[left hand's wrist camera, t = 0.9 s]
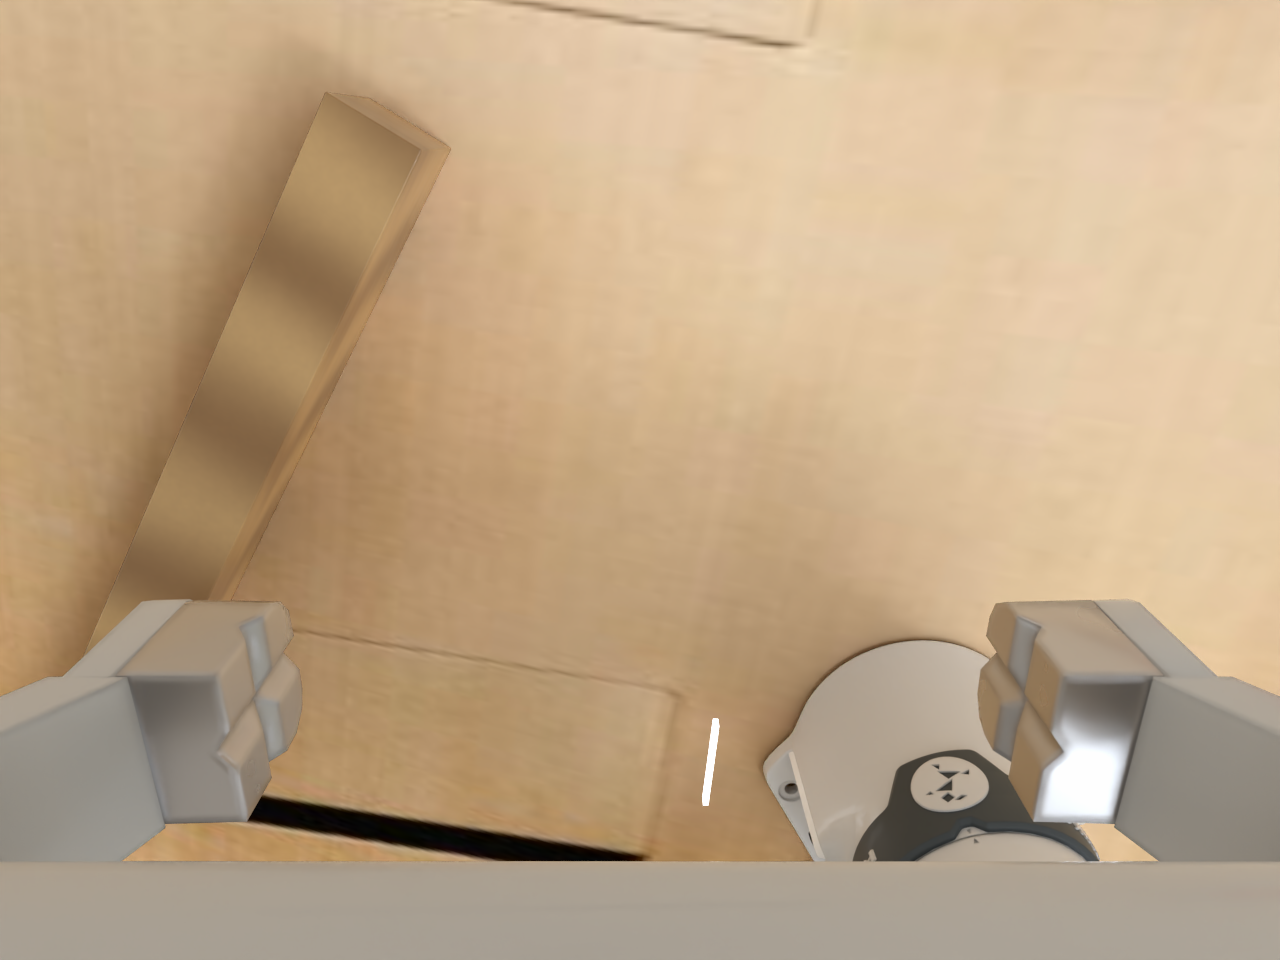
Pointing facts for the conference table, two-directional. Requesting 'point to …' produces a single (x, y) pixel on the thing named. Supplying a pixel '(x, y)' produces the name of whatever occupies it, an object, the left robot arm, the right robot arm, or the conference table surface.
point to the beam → (279, 353)
